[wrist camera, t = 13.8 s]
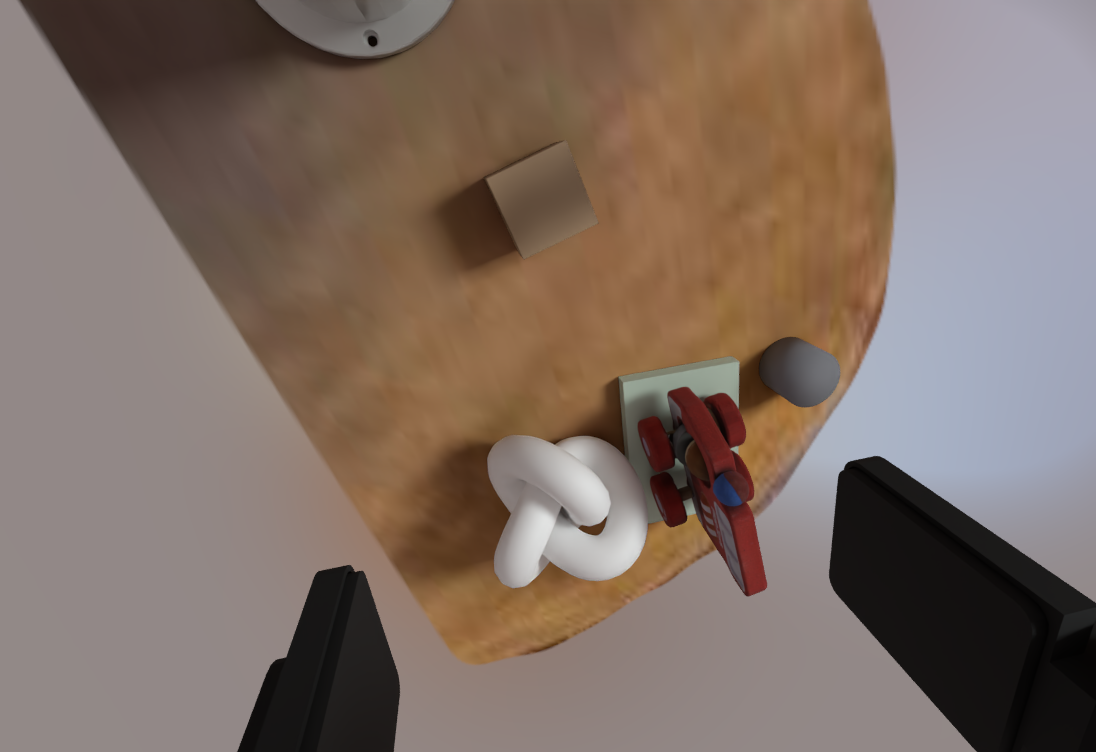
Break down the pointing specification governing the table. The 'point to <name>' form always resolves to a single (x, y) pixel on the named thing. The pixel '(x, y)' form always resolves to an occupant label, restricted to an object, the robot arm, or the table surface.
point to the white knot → (566, 508)
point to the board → (649, 399)
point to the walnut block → (542, 199)
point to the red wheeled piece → (707, 478)
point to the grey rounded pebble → (799, 371)
